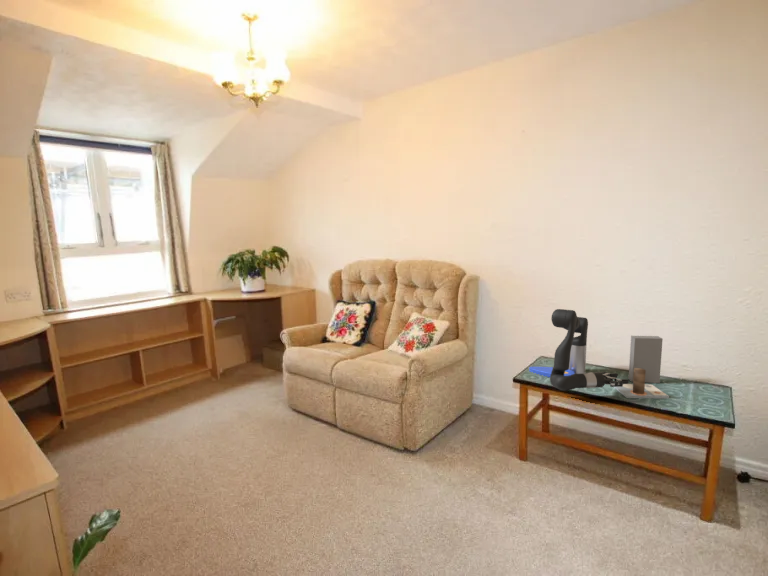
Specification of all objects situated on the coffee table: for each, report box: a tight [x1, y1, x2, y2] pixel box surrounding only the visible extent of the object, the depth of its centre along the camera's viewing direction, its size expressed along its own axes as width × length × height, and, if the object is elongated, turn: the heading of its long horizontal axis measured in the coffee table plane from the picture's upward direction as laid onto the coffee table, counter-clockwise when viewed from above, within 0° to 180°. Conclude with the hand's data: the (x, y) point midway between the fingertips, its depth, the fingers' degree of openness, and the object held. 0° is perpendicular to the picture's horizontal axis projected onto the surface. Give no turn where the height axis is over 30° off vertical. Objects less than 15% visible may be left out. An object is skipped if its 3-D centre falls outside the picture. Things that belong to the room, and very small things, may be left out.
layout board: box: [613, 383, 670, 399], centre depth 214 cm, size 16×20×2 cm
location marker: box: [528, 366, 575, 378], centre depth 242 cm, size 13×3×25 cm
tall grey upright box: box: [627, 335, 663, 384], centre depth 227 cm, size 14×6×25 cm, turn 80°
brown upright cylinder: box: [632, 368, 646, 394], centre depth 209 cm, size 5×5×12 cm
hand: (622, 378), depth 208 cm, fingers open, 8 cm apart
